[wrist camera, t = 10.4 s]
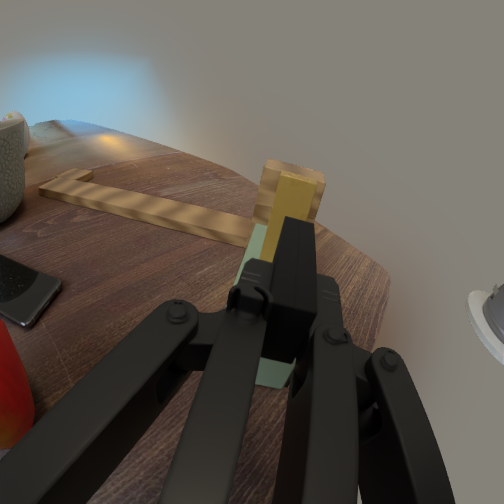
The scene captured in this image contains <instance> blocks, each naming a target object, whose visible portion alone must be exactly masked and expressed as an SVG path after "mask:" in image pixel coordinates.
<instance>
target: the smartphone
mask: <svg viewBox="0 0 504 504" xmlns="http://www.w3.org/2000/svg"><path fill="white" fill-rule="evenodd" d="M61 288H62V282H61V280H60V279H57V278H55V277H52V276H50V275H47V274H45V273H42V272H40V271H37V270H35V269H32V268H30V267H27V266H25V265H23V264H20V263H18V262H16V261H13V260H11V259H9V258H7V257H5V256H2V255H0V314H1V315H3V316H4V317H6V318H8V319H9V320H11V321H13V322H14V323H16V324H18V325H19V326H21V327H23V328H30V327H31V326H32V325H33V324H34V322H35V321H36V320H37V318H38V317H39V316H40V314H41V313H42V312H43V310H44V309H45V308H46V307H47V305H48V304H49V303H50V302H51V300H52V299H53V298H54V297H55V295H56V294H57V293H58V292H59V290H60V289H61Z"/></svg>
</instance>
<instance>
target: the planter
mask: <svg viewBox="0 0 504 504" xmlns="http://www.w3.org/2000/svg"><path fill="white" fill-rule="evenodd" d="M24 188H25V171H24V119H10V120H4V121H0V224H1V223H3V222H4V221H5V220H7V219H8V218H9V217H10V216H11V215H12V214H13V213H14V212H15V210H16V209H17V207H18V206H19V204H20V202H21V200H22V197H23V194H24Z"/></svg>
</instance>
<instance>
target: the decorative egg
mask: <svg viewBox="0 0 504 504" xmlns="http://www.w3.org/2000/svg"><path fill="white" fill-rule="evenodd" d="M10 119H24V117H23V116H22V115H21V114H20V113H19V112H16V111H12V112H9V113H8V114H7V115H6V116H5V117H4V118H3V120H2V121H4V120H10ZM29 140H30V135H29V128H28V125H27V122H26V120H25V119H24V156H25V155H26V153H27V150H28V147H29Z"/></svg>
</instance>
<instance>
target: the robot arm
mask: <svg viewBox="0 0 504 504" xmlns="http://www.w3.org/2000/svg"><path fill="white" fill-rule="evenodd" d="M493 292H494V293H493V294H491V295H490V296H489V297H488V298H487V300H486V301H485V303H484V304H483V307H482V309H483V314H484V317H485V319H486V321H487V323H488V325H489V327H490V328H491V330H492V331H493V333H494V334H495V335H496V336H497V338H498V339H499V340H500V341H501V342H502V343H503V344H504V284H503V285H502V286H500V287H499V288H498V287H497V285H495V286H494V288H493ZM339 295H340V293H339V286H338V284H337V283H336V281H335V280H334V278H333V277H329V276H325V275H321V274H317V272H316V250H315V232H314V223H310V222H307V221H303V220H299V219H295V218H292V217H288V216H285V218H284V222H283V225H282V229H281V233H280V236H279V240H278V243H277V247H276V251H275V254H274V258H273V261H272V263H271V262H267V261H264V260H260V259H256V258H251V259H249V260H248V261H247V262H245V264H244V267H243V269H242V272H241V275H240V278H239V280H238V283H237V284H236V285H234V286H233V287H232V288H231V289H230V291H229V295H228V300H227V306H226V308H225V309H223V310H221V311H219V312H215V313H199V312H198V310H197V309H196V307H195V306H194V305H192V304H191V303H190V302H187V301H184V300H176V299H173V300H169V301H166V302H164V303H162V304H161V305H159V306H158V307H157V308H156V309H155V310H154V311H153V312H152V313H151V314H150V315H148V316H147V317H146V318H145V319H144V320H143V321H142V322H141V323H140V324H139V325H138V326H137V327H135V328H134V329H133V330H132V331H131V332H130V333H129V334H128V335H127V336H126V337H125V338H124V339H123V340H122V341H120V342H119V343H118V344H117V345H116V346H115V347H114V348H113V349H112V350H111V351H110V352H109V353H108V354H107V355H106V356H105V357H103V358H102V359H101V360H100V361H99V362H98V363H97V364H96V365H95V366H94V367H93V368H92V369H91V370H90V371H89V372H88V373H87V374H86V375H85V376H84V377H83V378H82V379H80V380H79V381H78V382H77V383H76V384H75V385H74V386H73V387H72V388H71V389H70V390H69V391H68V392H67V393H66V394H65V395H64V396H63V397H62V398H61V399H60V400H59V401H58V402H57V403H56V404H55V405H54V406H53V407H52V408H51V409H50V410H49V411H48V412H47V413H46V414H45V415H44V416H43V417H42V418H41V419H40V420H39V421H38V422H37V423H36V424H35V425H34V426H33V427H32V428H31V429H30V430H29V431H28V432H27V433H26V434H25V435H24V436H23V437H22V438H21V439H20V440H19V441H18V442H17V443H16V444H15V445H14V446H13V447H12V448H11V450H10V451H9V452H8V453H7V454H6V455H5V456H4V457H3V458H2V459H1V460H0V504H86V503H87V502H88V501H89V499H90V498H91V497H92V496H93V495H94V494H95V492H96V491H97V490H98V489H99V488H100V487H101V485H102V484H103V483H104V482H105V481H106V479H107V478H108V477H109V476H110V475H111V474H112V472H113V471H114V470H115V469H116V468H117V466H118V465H119V464H120V463H121V461H122V460H123V459H124V458H125V457H126V455H127V454H128V453H129V452H130V451H131V449H132V448H133V447H134V446H135V444H136V443H137V442H138V441H139V439H140V438H141V437H142V436H143V434H144V433H145V432H146V431H147V430H148V428H149V427H150V426H151V425H152V423H153V422H154V421H155V420H156V418H157V417H158V416H159V414H160V413H161V412H162V411H163V409H164V408H165V407H166V406H167V404H168V403H169V402H170V400H171V399H172V398H173V397H174V395H175V394H176V393H177V392H178V390H179V389H180V388H181V386H182V385H183V384H184V383H185V381H186V380H187V379H188V377H189V376H190V375H191V373H192V372H193V371H204V372H203V375H202V378H201V380H200V383H199V386H198V389H197V392H196V394H195V397H194V400H193V403H192V406H191V409H190V411H189V414H188V417H187V420H186V423H185V425H184V428H183V431H182V434H181V437H180V440H179V442H178V445H177V448H176V451H175V454H174V457H173V459H172V462H171V465H170V468H169V471H168V474H167V476H166V479H165V482H164V485H163V488H162V491H161V494H160V497H159V499H158V502H157V504H228V502H229V498H230V494H231V490H232V486H233V481H234V477H235V473H236V469H237V465H238V460H239V456H240V451H241V447H242V443H243V438H244V434H245V429H246V424H247V420H248V415H249V411H250V406H251V401H252V396H253V391H254V387H255V382H256V377H257V372H258V367H259V362H260V357H261V358H265V359H269V360H274V361H278V362H283V363H287V364H292V363H293V361H294V359H295V357H296V362H295V368H294V369H293V371H292V373H291V375H290V376H289V378H288V380H287V382H286V384H285V387H288V385H289V393H288V401H287V409H286V417H285V424H284V432H283V439H282V446H281V452H280V459H279V465H278V471H277V477H276V483H275V488H274V494H273V499H272V504H357V496H358V495H357V494H358V485H359V490H360V495H361V500H362V504H455V500H454V496H453V492H452V489H451V485H450V482H449V478H448V475H447V471H446V468H445V465H444V462H443V459H442V456H441V453H440V450H439V447H438V444H437V441H436V438H435V436H434V433H433V430H432V428H431V425H430V422H429V420H428V417H427V415H426V412H425V409H424V407H423V405H422V402H421V400H420V397H419V395H418V392H417V390H416V388H415V385H414V383H413V381H412V379H411V376H410V374H409V372H408V370H407V367H406V365H405V363H404V361H403V359H402V358H401V356H400V355H399V354H398V353H397V352H395V351H394V350H392V349H389V348H385V347H381V348H377V349H376V350H375V351H374V352H373V353H370V352H368V351H366V350H364V349H361V348H359V347H358V346H356V345H354V344H353V343H352V339H351V336H350V334H349V333H348V331H347V330H346V329H345V328H343V319H342V310H341V303H340V302H341V301H340V296H339Z"/></svg>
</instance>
